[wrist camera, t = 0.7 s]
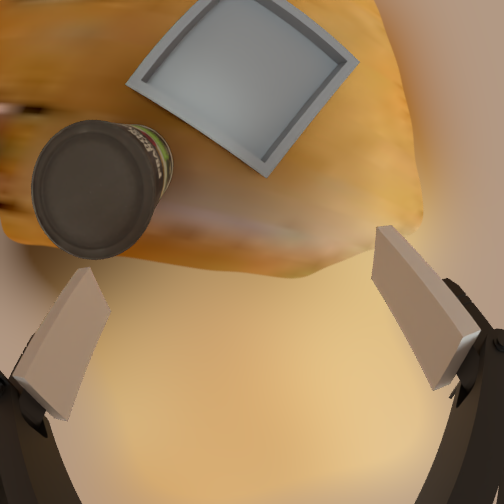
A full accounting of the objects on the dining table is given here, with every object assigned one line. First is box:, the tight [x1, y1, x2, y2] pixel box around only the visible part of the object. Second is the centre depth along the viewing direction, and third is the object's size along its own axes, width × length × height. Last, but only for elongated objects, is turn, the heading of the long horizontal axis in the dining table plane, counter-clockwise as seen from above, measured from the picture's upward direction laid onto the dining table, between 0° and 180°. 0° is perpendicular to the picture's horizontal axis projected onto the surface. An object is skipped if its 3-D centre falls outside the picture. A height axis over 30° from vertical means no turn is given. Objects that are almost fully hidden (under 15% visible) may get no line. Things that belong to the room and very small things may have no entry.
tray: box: [125, 0, 360, 178], centre depth 26 cm, size 18×18×3 cm
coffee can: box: [31, 120, 173, 260], centre depth 24 cm, size 10×10×14 cm
